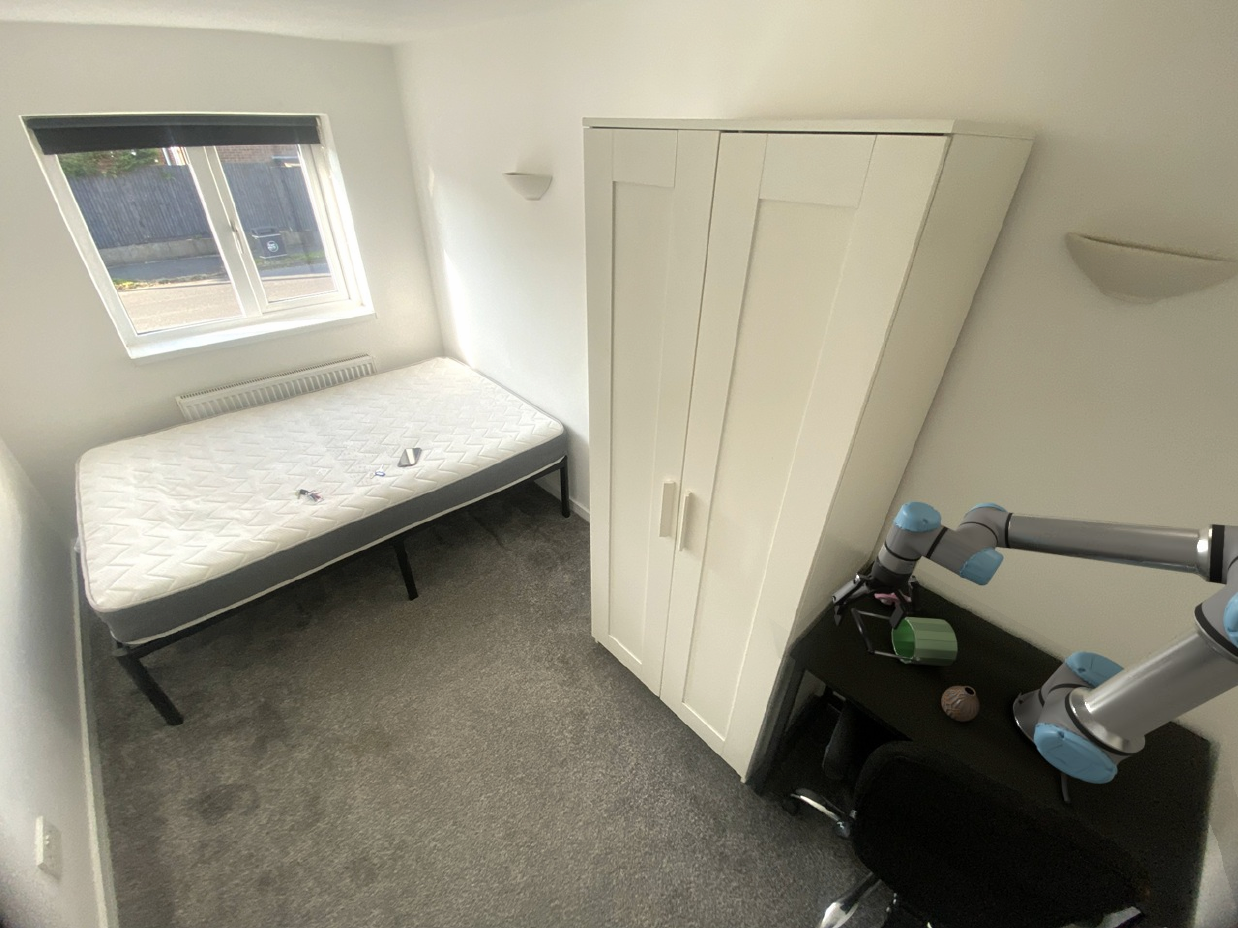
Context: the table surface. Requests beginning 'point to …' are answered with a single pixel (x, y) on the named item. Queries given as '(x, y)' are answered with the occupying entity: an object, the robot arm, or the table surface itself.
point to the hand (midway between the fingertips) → (864, 623)
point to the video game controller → (890, 599)
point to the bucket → (916, 640)
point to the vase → (960, 703)
